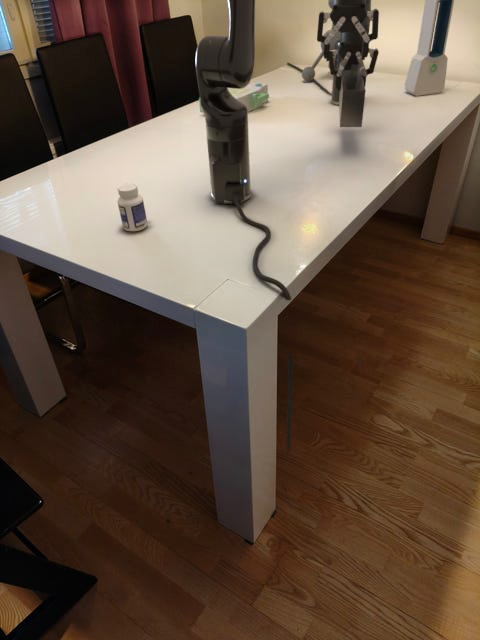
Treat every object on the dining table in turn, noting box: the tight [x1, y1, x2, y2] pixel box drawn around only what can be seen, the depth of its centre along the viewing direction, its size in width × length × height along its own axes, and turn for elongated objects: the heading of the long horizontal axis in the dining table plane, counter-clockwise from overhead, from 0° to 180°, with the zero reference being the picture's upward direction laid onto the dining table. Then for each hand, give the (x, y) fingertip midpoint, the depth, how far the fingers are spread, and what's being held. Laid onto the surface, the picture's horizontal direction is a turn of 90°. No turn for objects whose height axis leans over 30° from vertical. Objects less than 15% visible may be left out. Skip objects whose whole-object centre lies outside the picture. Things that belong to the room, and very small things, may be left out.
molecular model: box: [301, 0, 341, 82], centre depth 196 cm, size 24×22×30 cm
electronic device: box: [404, 0, 455, 97], centre depth 172 cm, size 12×8×30 cm, turn 105°
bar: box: [338, 69, 366, 128], centre depth 135 cm, size 23×6×9 cm, turn 172°
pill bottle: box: [117, 182, 148, 232], centre depth 102 cm, size 5×5×9 cm
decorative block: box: [198, 82, 270, 114], centre depth 174 cm, size 26×6×20 cm
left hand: (345, 60), depth 120 cm, fingers open, 8 cm apart
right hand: (350, 89), depth 141 cm, fingers closed on bar, 5 cm apart
